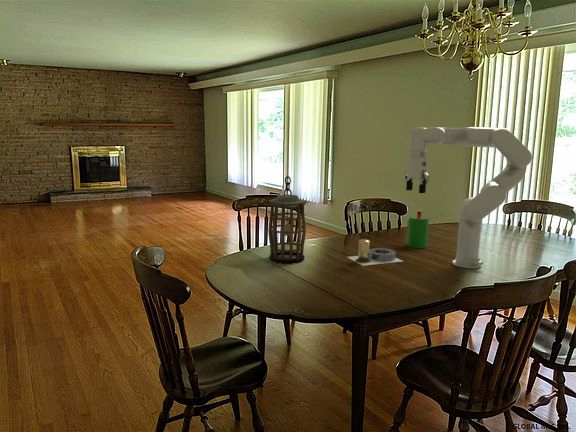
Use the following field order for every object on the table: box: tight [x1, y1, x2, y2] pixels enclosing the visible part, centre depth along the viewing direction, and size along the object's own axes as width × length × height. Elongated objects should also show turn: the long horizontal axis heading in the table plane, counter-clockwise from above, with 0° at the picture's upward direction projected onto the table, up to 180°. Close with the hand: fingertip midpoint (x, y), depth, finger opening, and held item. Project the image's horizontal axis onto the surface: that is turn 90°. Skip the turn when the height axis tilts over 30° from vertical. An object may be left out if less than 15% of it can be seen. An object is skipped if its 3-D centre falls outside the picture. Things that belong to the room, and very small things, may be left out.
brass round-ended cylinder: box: [357, 238, 371, 262], centre depth 213 cm, size 5×5×10 cm
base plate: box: [347, 255, 403, 267], centre depth 217 cm, size 15×22×1 cm
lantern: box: [266, 175, 308, 265], centre depth 215 cm, size 19×19×40 cm
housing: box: [369, 247, 397, 261], centre depth 219 cm, size 13×13×3 cm
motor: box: [406, 209, 430, 249], centre depth 245 cm, size 10×9×20 cm
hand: (415, 191), depth 213 cm, fingers open, 9 cm apart
